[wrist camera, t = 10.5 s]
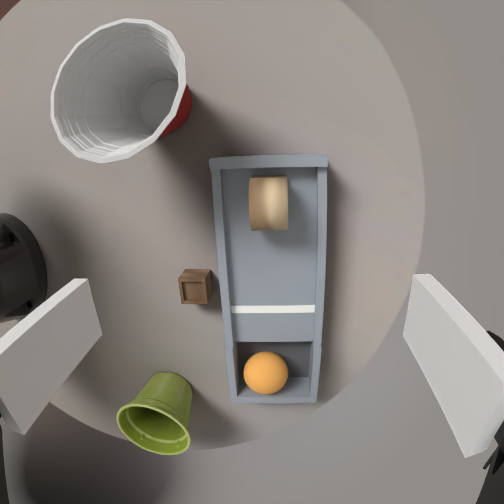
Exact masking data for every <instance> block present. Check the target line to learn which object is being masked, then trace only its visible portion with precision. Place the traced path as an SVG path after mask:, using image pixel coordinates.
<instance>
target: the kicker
mask: <svg viewBox="0 0 504 504" xmlns="http://www.w3.org/2000/svg"><path fill="white" fill-rule="evenodd" d="M249 218H250V227H251V230H252V231H266V230H288V187H287V177H286V175H264V176H252V178H250V180H249Z"/></svg>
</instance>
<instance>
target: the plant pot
mask: <svg viewBox="0 0 504 504" xmlns="http://www.w3.org/2000/svg"><path fill="white" fill-rule="evenodd" d="M192 396H193V393H192V389H191V386H190V384H189V383H188V382H187V381H186V380H185V379H184V378H182V377H181V376H179V375H177V374H175V373H163V372H159V373H156V374H155V375H153V376H152V378H151V379H150V380H149V381H148V383H147V384H146V385H145V386H144V388H143V389H142V390H141V391H140V393H139V394H138V395H137V396H136V397H135V399H134V400H133V401H131V402H130V403H128V404H126V405H124V406H122V407H121V408H120V409H119V411H118V412H117V415H116V420H117V424H118V426H119V429H120V430H121V431H122V433H123V434H124V435H125V436H126V437H127V438H128V439H129V440H130V441H132V442H133V443H134V444H136V445H137V446H139V447H141V448H143V449H145V450H148V451H151V452H153V453H157V454H163V455H176V454H180V453H183V452H185V451H186V450H187V449H188V448H189V446H190V442H191V438H190V434H189V427H188V423H189V416H190V408H191V402H192Z"/></svg>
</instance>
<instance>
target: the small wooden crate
mask: <svg viewBox="0 0 504 504" xmlns="http://www.w3.org/2000/svg"><path fill="white" fill-rule="evenodd" d="M178 282H179V289H180V296H181V302H182V304H208V302H209V300H210V298H211V296H212V293H213V292H212V282H211V272H210V269H185V270H184V272H183V273H182V274H181V276H180V277H179V278H178Z"/></svg>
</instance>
